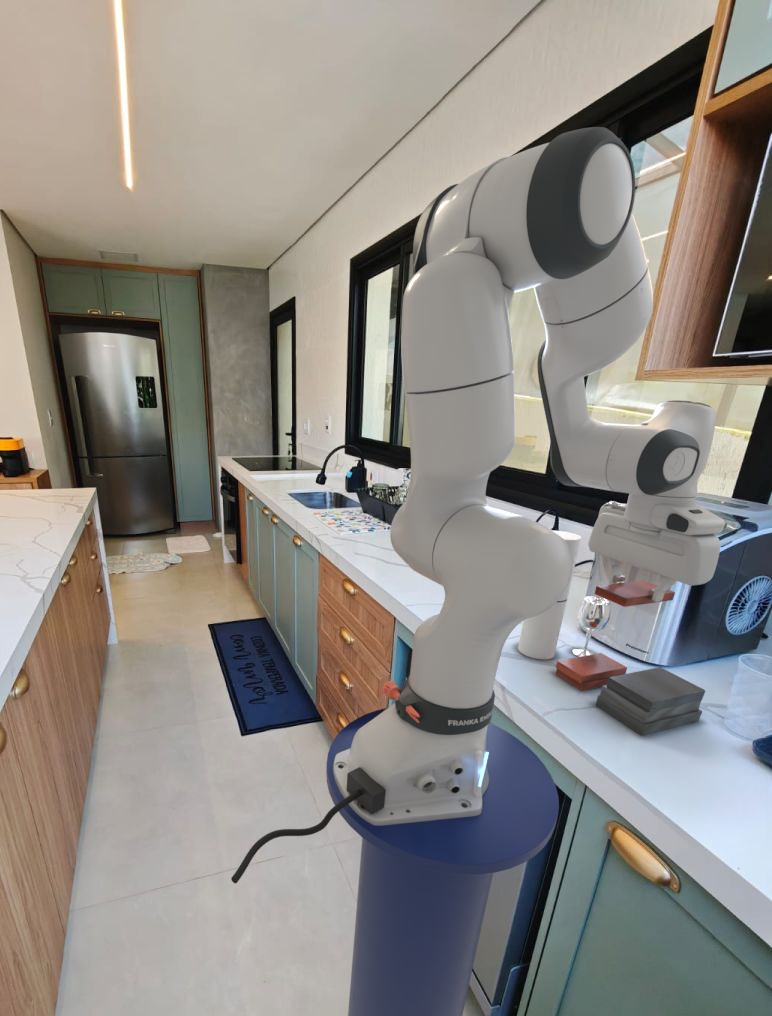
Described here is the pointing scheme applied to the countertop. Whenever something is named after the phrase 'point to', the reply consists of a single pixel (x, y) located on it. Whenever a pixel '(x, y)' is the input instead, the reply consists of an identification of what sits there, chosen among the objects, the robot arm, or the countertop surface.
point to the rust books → (589, 670)
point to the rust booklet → (630, 593)
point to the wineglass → (592, 619)
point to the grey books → (651, 700)
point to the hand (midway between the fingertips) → (634, 592)
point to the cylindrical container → (548, 616)
